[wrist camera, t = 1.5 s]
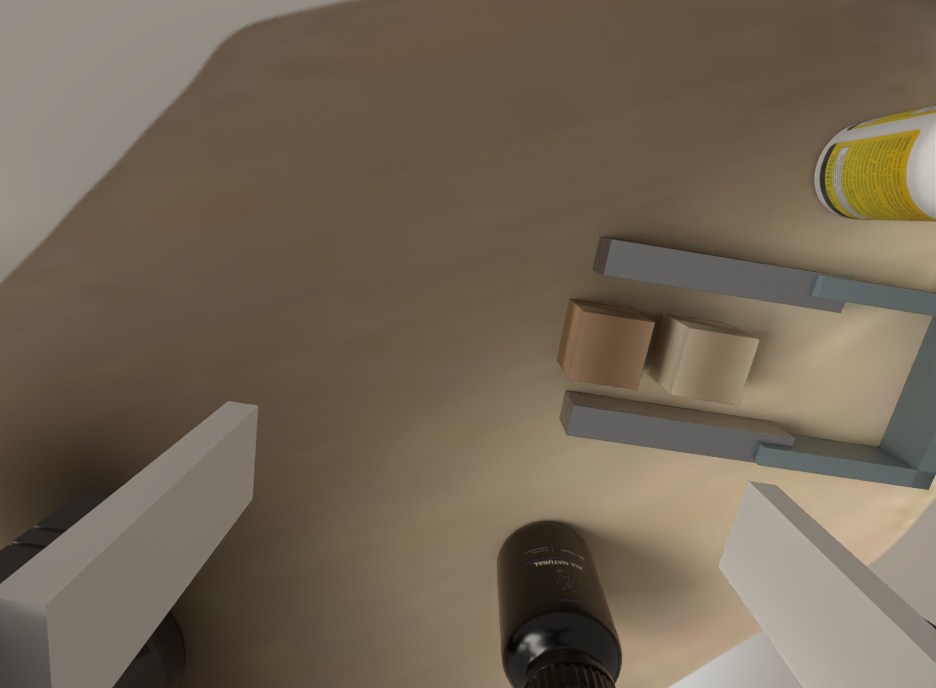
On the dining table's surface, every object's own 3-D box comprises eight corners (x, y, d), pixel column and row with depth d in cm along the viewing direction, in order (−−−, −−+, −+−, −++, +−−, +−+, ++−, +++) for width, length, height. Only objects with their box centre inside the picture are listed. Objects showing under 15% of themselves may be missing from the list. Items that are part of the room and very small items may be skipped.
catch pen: (733, 442, 33) (758, 465, 31) (791, 269, 30) (824, 276, 27) (889, 465, 34) (928, 489, 31) (960, 297, 31) (1011, 306, 28)
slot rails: (559, 418, 33) (566, 435, 31) (600, 236, 30) (611, 239, 27) (762, 448, 34) (784, 467, 31) (822, 273, 30) (853, 278, 28)
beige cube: (646, 372, 32) (670, 395, 28) (662, 313, 31) (690, 328, 27) (706, 382, 32) (738, 405, 29) (724, 323, 31) (759, 339, 28)
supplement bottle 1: (562, 502, 35) (609, 649, 23) (605, 573, 36) (669, 744, 25) (477, 544, 36) (481, 706, 24) (522, 611, 37) (547, 794, 26)
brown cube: (556, 359, 32) (568, 379, 28) (569, 298, 31) (584, 311, 27) (616, 368, 32) (637, 389, 28) (631, 308, 31) (654, 322, 27)
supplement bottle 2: (846, 238, 30) (1020, 252, 20) (791, 173, 29) (948, 156, 19) (923, 169, 29) (1145, 149, 19) (869, 99, 28) (1075, 43, 18)
